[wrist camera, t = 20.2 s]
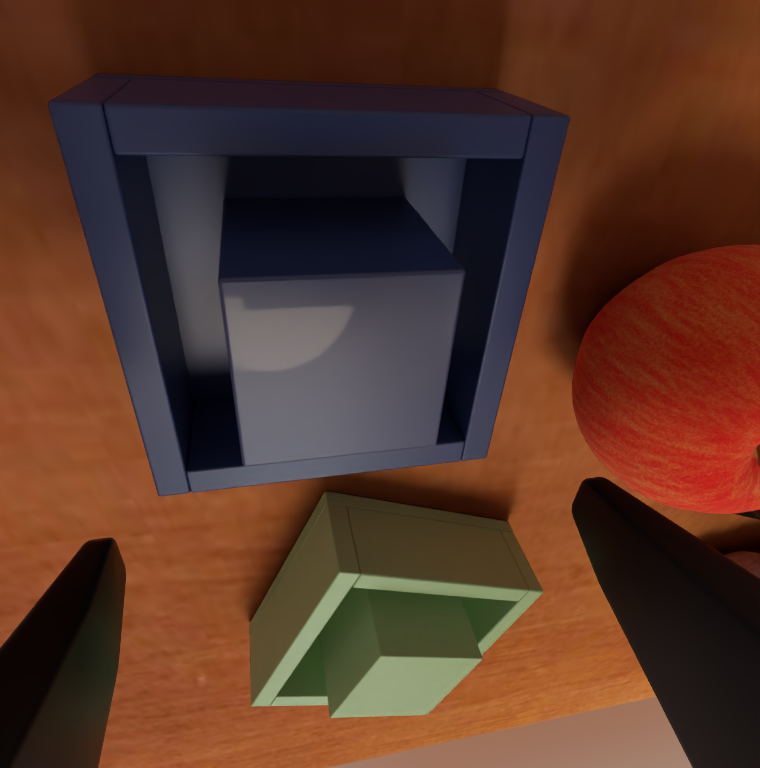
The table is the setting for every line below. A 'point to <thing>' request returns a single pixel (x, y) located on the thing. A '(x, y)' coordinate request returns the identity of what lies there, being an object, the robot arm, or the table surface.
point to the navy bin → (294, 180)
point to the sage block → (395, 652)
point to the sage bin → (380, 583)
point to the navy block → (335, 325)
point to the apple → (679, 382)
